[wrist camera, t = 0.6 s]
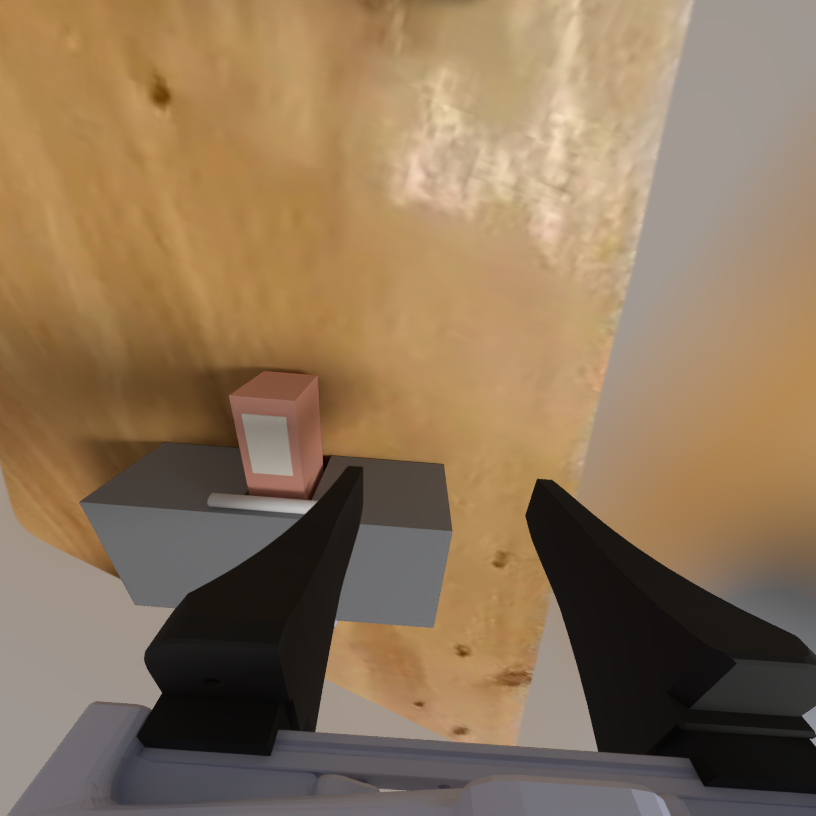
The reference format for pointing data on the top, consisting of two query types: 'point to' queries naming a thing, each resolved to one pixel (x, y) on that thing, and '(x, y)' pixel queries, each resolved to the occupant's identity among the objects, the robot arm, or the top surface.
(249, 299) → the top surface
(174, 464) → the dispenser
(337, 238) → the top surface
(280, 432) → the pink labelled block
